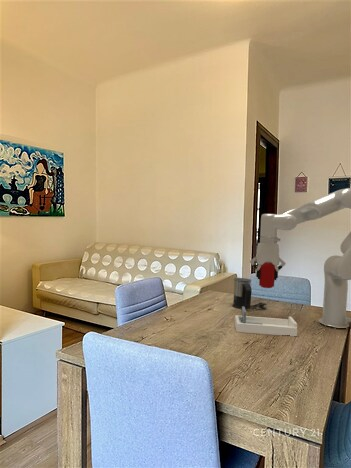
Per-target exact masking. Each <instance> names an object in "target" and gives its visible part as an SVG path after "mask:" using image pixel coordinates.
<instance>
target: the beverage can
mask: <svg viewBox="0 0 351 468" xmlns="http://www.w3.org/2000/svg"><path fill="white" fill-rule="evenodd" d="M274 279H275V266H274V265H273V263H272V262H265V263H264V264H263V265H261V267H260V279H258V284H259V286H260V287H261V288H263V289H272V288H274V287H275V280H274Z"/></svg>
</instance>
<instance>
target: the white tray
mask: <svg viewBox="0 0 351 468" xmlns="http://www.w3.org/2000/svg"><path fill="white" fill-rule="evenodd" d="M241 318H242V315H237V314H236V315H234V326H235V331H236V333H244V334H245V333H249V334H259V335H271V336H272V335H273V336H282V335H290V336H289V337H294V336H297V337H298V323H297V322H296V320H295V319H294V318H293V316H288V319H287V318H278V317H277V318H275V317H263V316H261V317H260V316H250V315H249V316H247V315H246V322H251V323H262V324H263V325H260V324H247V323H242V322H241Z"/></svg>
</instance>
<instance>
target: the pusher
mask: <svg viewBox="0 0 351 468" xmlns="http://www.w3.org/2000/svg"><path fill="white" fill-rule="evenodd" d="M241 316H242V318H241V322H242V323H247V324H260V325H263V324H262V323H251V322H246V316H247V309H245V307H244V306H242V308H241Z"/></svg>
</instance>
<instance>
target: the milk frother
mask: <svg viewBox="0 0 351 468" xmlns="http://www.w3.org/2000/svg"><path fill="white" fill-rule="evenodd" d="M233 282H234V283H233V285H234V286H233V302H232V307H233V308H236V309H242V306H244V307H245V310H247V309H250V308H252V307H258V308H260V307H261V308H263V307H264V306H267V303H265V302H258V303H256V304H253V305H251V302H252V301H251V300H252V292H253V291H252V286H251V285H252V284H251V283H252V279H250V278H245V277H234V278H233Z"/></svg>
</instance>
